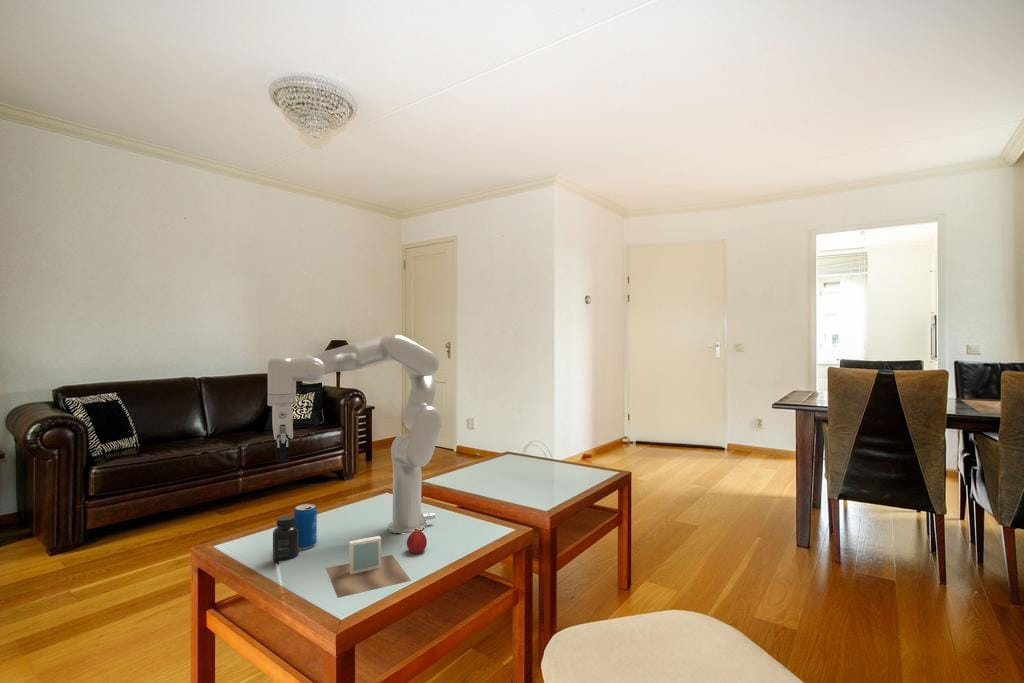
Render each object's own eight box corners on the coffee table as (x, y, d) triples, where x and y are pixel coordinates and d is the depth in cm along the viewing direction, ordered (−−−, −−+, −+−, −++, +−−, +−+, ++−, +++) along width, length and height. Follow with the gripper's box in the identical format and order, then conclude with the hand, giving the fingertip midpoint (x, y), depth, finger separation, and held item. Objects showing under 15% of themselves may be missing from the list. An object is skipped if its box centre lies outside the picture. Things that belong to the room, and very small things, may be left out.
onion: (409, 551, 146) (409, 524, 146) (428, 551, 146) (428, 524, 146) (404, 559, 140) (404, 531, 140) (424, 559, 140) (424, 531, 140)
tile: (379, 564, 134) (379, 535, 134) (381, 568, 132) (381, 538, 132) (348, 571, 130) (349, 541, 130) (350, 574, 128) (350, 544, 128)
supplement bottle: (304, 556, 142) (304, 515, 142) (286, 566, 135) (286, 523, 135) (285, 553, 144) (285, 512, 144) (266, 563, 137) (267, 520, 138)
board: (392, 558, 140) (392, 554, 140) (411, 585, 125) (411, 580, 125) (326, 572, 132) (326, 568, 132) (337, 602, 116) (337, 597, 116)
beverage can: (308, 551, 146) (308, 510, 146) (288, 549, 147) (289, 509, 147) (320, 542, 152) (321, 504, 152) (302, 541, 153) (302, 502, 153)
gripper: (298, 401, 137) (297, 462, 137) (293, 396, 152) (293, 451, 152) (268, 403, 133) (268, 465, 133) (267, 397, 149) (267, 453, 148)
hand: (281, 458), depth 143 cm, fingers open, 9 cm apart
